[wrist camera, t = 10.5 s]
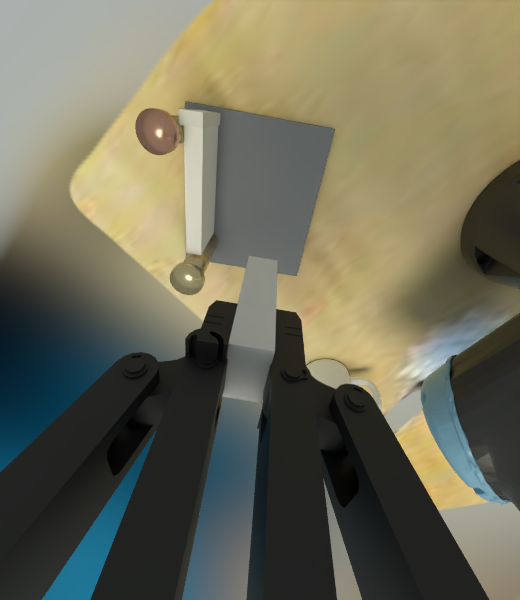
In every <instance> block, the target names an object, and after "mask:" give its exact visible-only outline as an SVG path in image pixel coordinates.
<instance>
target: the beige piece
mask: <svg viewBox="0 0 520 600" xmlns="http://www.w3.org/2000/svg"><path fill="white" fill-rule="evenodd" d="M179 125H184V159H185V210H186V253H190V254H197V255H201V254H202V253H203V251H204V249H205V247H206V246H207V244H208V242H209V240H210V238H211V237H212V235H213V233H214V220H215V196H216V172H217V148H218V126H219V125H220V113H217V112H211V111H205V110H193V109H179Z"/></svg>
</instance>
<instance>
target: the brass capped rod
mask: <svg viewBox="0 0 520 600" xmlns="http://www.w3.org/2000/svg"><path fill="white" fill-rule="evenodd" d="M136 134H137V137H138V139H139V141H140V143H141V144H142V146H143V147H144V148H145V149H146V150H147V151H149V152H150V153H153V154H156V155H164V154H167V153H170V152H172V151H173V150H174V149H175V148H176V147H177V145H178V144H179V143H183V142H184V125H179V115H170V114H169V113H168V112H166V111H164V110H162V109H153V108H150V109H146V110H143V111H142V112H141V113H140V114H139V115H138V117H137V120H136Z"/></svg>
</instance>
